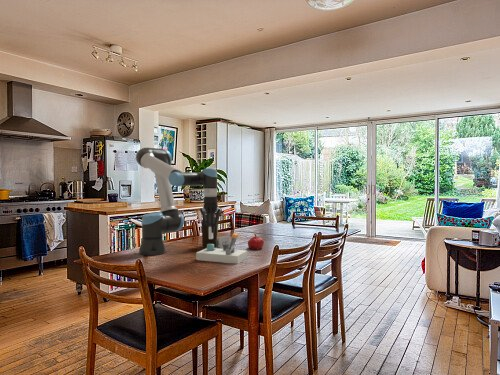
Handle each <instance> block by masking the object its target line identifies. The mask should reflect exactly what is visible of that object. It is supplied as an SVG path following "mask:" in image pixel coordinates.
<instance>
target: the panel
mask: <svg viewBox="0 0 500 375" xmlns="http://www.w3.org/2000/svg"><path fill="white" fill-rule="evenodd" d="M195 257H196V259H195V260H196V261H203V262H204V261H205V262H214V263H225V264H236V265H238V264H241V262H243V261H245V260H246V259H248V250H242V249H241V250H240V249H235V247H234V248H233V251H232V252H231V249H226V250H223V249H219V248H217V247H214V251H207V248H204V249H202V250H199V251H197V252H196V253H195Z"/></svg>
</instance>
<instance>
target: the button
mask: <svg viewBox="0 0 500 375" xmlns="http://www.w3.org/2000/svg"><path fill="white" fill-rule="evenodd" d="M214 248H215V247H214V244H207V251H214Z"/></svg>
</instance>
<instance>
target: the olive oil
mask: <svg viewBox="0 0 500 375" xmlns="http://www.w3.org/2000/svg"><path fill="white" fill-rule="evenodd" d="M206 218H207V215H206ZM215 218H216V216H215ZM200 223H201V224H200V225H201V238H202V239H201V241H202V242H201V244H202V248H204V249H206V248H207V244H214V248H217V246H216V241H215V240H217V239H218V231H219V229H218V228H219V224H218V225H217V226H215V232H214V233H213V239H209V233H208V232H207V226H204V223H203V218H202V220H201V222H200ZM210 227H211V226H210Z"/></svg>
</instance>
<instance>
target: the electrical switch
mask: <svg viewBox="0 0 500 375" xmlns="http://www.w3.org/2000/svg"><path fill="white" fill-rule="evenodd" d="M230 238H231V237H230V236H229V235H226V236H220V237H217V240H215V241H216V246H217V247H216V248H219V249H223V245H224V244H229V246H230V243H231V239H230Z"/></svg>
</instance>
